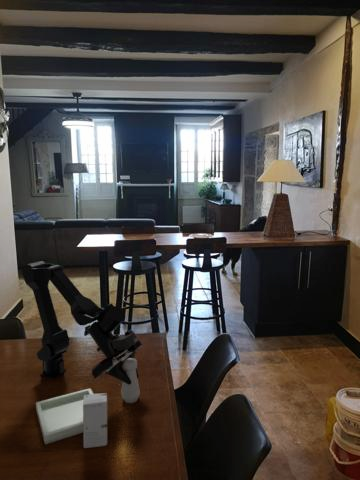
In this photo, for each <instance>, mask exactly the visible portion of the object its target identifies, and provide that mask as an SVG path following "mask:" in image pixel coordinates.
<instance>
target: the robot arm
mask: <svg viewBox="0 0 360 480" xmlns="http://www.w3.org/2000/svg"><path fill="white" fill-rule="evenodd" d="M21 275H22V278H23V280H24V283H25V284H26V286H28V287H29V288H30V289H31V290H32V292H33V295H34V299H35V303H36V306H37V310H38V314H39V316H40V317H39V318H40V321H41V324H42V328H43V334H42V337H41V346H42V347H41V348H40V349H39V351H37V353H36V356H37V360H39V361H42V371H41V372H40V373H39V375H40V376H42V377H48V378H52V379H56V378H58V377H59V376H60V375H61V374H63V372H65V371H66V370H67V367H65V359H64V355H63V354H65V353H67V351H68V348H69V346H70V340H71V339H70V336H69V333H68V330H67V329H63V328H62V327H61V326H60V324H59V322H58V317H57V314H56V311H55V307H54V303H53V299H52V297H51V293H50V289H49V283H51V284H52V285H53V287H55V288H56V290H57V291H58V292H59V294H60V295H61V296H62V297H63V299H64V300H65V301H66V302H67V303H68V305H69V307H70V314H71V316H72V318H73V320H74V321H75V323H76V324H77V325H79V326H83V327H84V326H85V327H84V333H83V336H84V337H87V336H90V337H91V339H93V341H94V343H95V344H96V346H97V348H96V351H97V352H98V353H99V352H101V353H102V354H103V356H104V357H105V358H104V359H103V360H101V361H100V362H98V364H96V365H95V366H94V367H93V368H92V369H91V374H92V377H93V378H94V379H95V380H96V379H98V378H99V377H101V376H102V375H103V373H104V372H105V371H106V373H104V374H105V375H106V376H108V375H109V376H111V377H113V378H116V379H117V380H120V381H121V382H122V383H123V382H125V383H127V384H128V385H130V384H131V383H132V382H131V380H130V378H129V377H128V375H127V374H126V372H125V369H124V367H123V362H124V360H125V359H127V358H134V359H135V355H136V353H137V350H138V349H139V348H140V347H142V346H143V344H142V343H141V341H140V340H139V339H137V335H136V334H135V333H136V332H134V331H133V330H132V329H129V330H126V331H124V335H122V336H121V337H120V336H119V334H117V333H115V334H114V333H113V331H115V330H116V329H117V328H118V327H119V326H120V325H121V324H122V323H123V322H124V321H125V319H126V313H125V312H124V310H123V309H122V308H120V307H118V306H116V305H114V304H113V303H109V304H107V305H106V306H105V307H101V306H98V305H97V304H96V303H95V302H94V301H93V300H92V299H91V298H88V297H86V296H84V295H83V294H82V293H81V292H80V291H79V289H78V288H77V286H75V285H74V282H72V280H71V279H70V278H69V277H68V276H67V274H66V273H65V271H64V270H63V267H62V266H61V265H59V264H53V263H46V261H42V260H41V261H35V262H31V263H28V264H25V265H24V266H23V268H22V269H21ZM86 325H87V326H86ZM136 374H137V379H138V378H139V376H140V375H139V373H138V369H137V368H136Z"/></svg>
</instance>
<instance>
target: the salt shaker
mask: <svg viewBox="0 0 360 480" xmlns="http://www.w3.org/2000/svg"><path fill="white" fill-rule="evenodd" d="M122 368H123V369H124V371H125V372H126V374H127V375H128V377H129V378H130V380H131V382H132V383H131V384H130V385H128V384H127V383H125V382H123V381H122V385H121V390H120V394H121V398H122V399H123V400H124V402H125V404H134V403H136V402H138V398H139V396H140V394H141V391H140V385H139V381H138V380H139V379H138V378H137V374H136V369H137V368H138V360H137V359H136V358H135V357H134V358H127V359H125V360H124V362H123V366H122Z"/></svg>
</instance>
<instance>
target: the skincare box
mask: <svg viewBox="0 0 360 480" xmlns="http://www.w3.org/2000/svg"><path fill="white" fill-rule="evenodd" d="M107 445H108V393H107V392H104V393H93V394H91V395H84V399H83V448H84V449H87V448H88V449H89V448H97V447H98V448H99V447H104V446H107Z"/></svg>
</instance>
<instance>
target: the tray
mask: <svg viewBox="0 0 360 480" xmlns="http://www.w3.org/2000/svg"><path fill="white" fill-rule="evenodd" d="M91 394H94V392H93V390H92V389H91V387H90V388H86V389H85V388H84V389H81V390H78V391H74V392H70V393H67V394H63V395H58V396H55V397H51V398H48V399H43V400H41V401H40V400H39V401H36V402H35V410H36V414H37V418H38V422H39V427H40V430H41V434H42V438H43V442H44V445H48V444H51V443H54V442H58V441H60V440H64V439H66V438H70V437H72V436H77V435H79V434H82V433H83V399H84V395H91Z"/></svg>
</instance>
